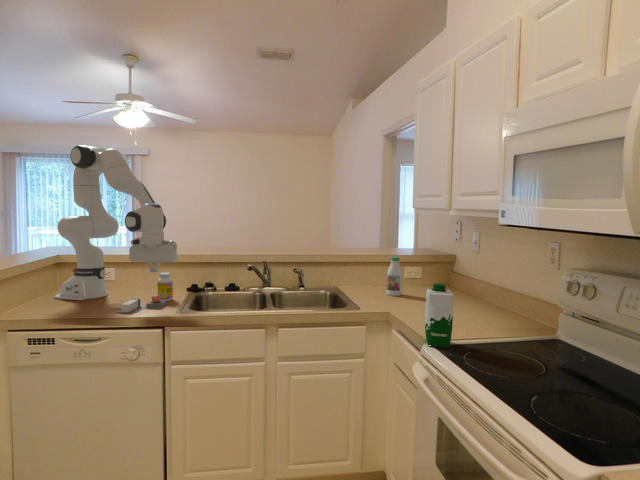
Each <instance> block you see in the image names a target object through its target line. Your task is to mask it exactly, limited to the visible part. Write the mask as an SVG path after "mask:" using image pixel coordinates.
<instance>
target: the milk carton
mask: <svg viewBox="0 0 640 480" xmlns="http://www.w3.org/2000/svg"><path fill="white" fill-rule="evenodd" d="M424 315H425V317H424V331H425V332H424V333H425V340H426V344H427V346H428V345H431V346H430V347H432V346H434V347H433V348H447V349H448V348H451V342H452V333H453V320H454V319H453V318H454V293H453V292H452V291H451V290H450V289H446V284H445V283H433V284H432V288H427V289H426V298H425V314H424Z"/></svg>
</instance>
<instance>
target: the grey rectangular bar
mask: <svg viewBox="0 0 640 480" xmlns="http://www.w3.org/2000/svg"><path fill="white" fill-rule="evenodd" d="M140 306H141V298H132V299H130V300H128V301H125V302H124V303H122V304H121V309H122V312H130V311H132V310H134V309H136V308H138V307H140Z"/></svg>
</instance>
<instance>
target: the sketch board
mask: <svg viewBox="0 0 640 480" xmlns="http://www.w3.org/2000/svg"><path fill="white" fill-rule="evenodd" d="M145 308H146V305H140V307H138V308H136V309H134V310H132V311H130V312H122V308H121V309H119V310H117V311H115V313H116V314H136V313H137V312H139V311H141V310H143V309H145Z"/></svg>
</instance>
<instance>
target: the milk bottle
mask: <svg viewBox="0 0 640 480" xmlns="http://www.w3.org/2000/svg"><path fill="white" fill-rule="evenodd" d="M402 272H403V271H402V268H401V265H400V257H399V256H391V257H390V265H389V267H388V269H387V273H386V274H387V276H386V295H388V296H391V297H399V296H400V297H401V295H402V290H403V289H402V287H403V285H402V282H403V273H402Z"/></svg>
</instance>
